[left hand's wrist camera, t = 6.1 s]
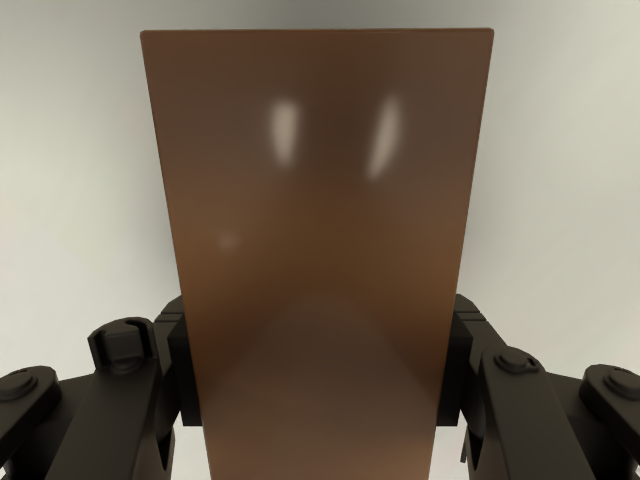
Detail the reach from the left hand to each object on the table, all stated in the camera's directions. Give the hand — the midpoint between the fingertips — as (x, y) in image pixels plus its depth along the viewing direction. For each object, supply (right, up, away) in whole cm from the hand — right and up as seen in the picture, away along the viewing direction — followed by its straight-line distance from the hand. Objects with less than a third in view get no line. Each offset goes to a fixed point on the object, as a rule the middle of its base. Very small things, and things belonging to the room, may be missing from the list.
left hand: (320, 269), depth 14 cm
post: (0, -30, +12) cm, 32 cm away
